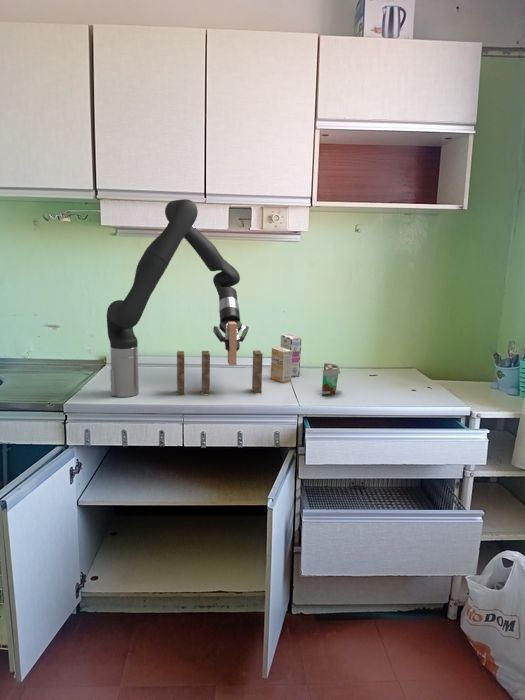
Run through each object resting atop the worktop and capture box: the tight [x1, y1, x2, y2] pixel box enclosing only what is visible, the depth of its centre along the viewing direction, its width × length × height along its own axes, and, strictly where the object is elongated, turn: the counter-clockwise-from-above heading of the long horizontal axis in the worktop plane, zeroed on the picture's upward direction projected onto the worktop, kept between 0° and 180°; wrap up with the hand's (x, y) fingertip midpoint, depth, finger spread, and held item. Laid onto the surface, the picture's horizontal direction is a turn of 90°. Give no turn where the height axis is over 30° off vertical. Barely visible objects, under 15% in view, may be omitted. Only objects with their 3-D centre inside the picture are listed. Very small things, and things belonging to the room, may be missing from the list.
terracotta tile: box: [227, 322, 238, 366], centre depth 178 cm, size 2×6×15 cm, turn 10°
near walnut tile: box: [176, 350, 185, 396], centre depth 177 cm, size 2×6×15 cm, turn 10°
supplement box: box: [270, 346, 293, 384], centre depth 199 cm, size 8×5×13 cm, turn 36°
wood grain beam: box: [251, 349, 264, 394], centre depth 182 cm, size 2×6×15 cm, turn 10°
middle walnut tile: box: [201, 350, 211, 395], centre depth 179 cm, size 2×6×15 cm, turn 11°
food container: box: [321, 362, 341, 397], centre depth 184 cm, size 12×6×10 cm, turn 171°
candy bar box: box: [280, 334, 302, 378], centre depth 210 cm, size 11×5×16 cm, turn 21°
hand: (232, 350), depth 177 cm, fingers closed on terracotta tile, 2 cm apart
